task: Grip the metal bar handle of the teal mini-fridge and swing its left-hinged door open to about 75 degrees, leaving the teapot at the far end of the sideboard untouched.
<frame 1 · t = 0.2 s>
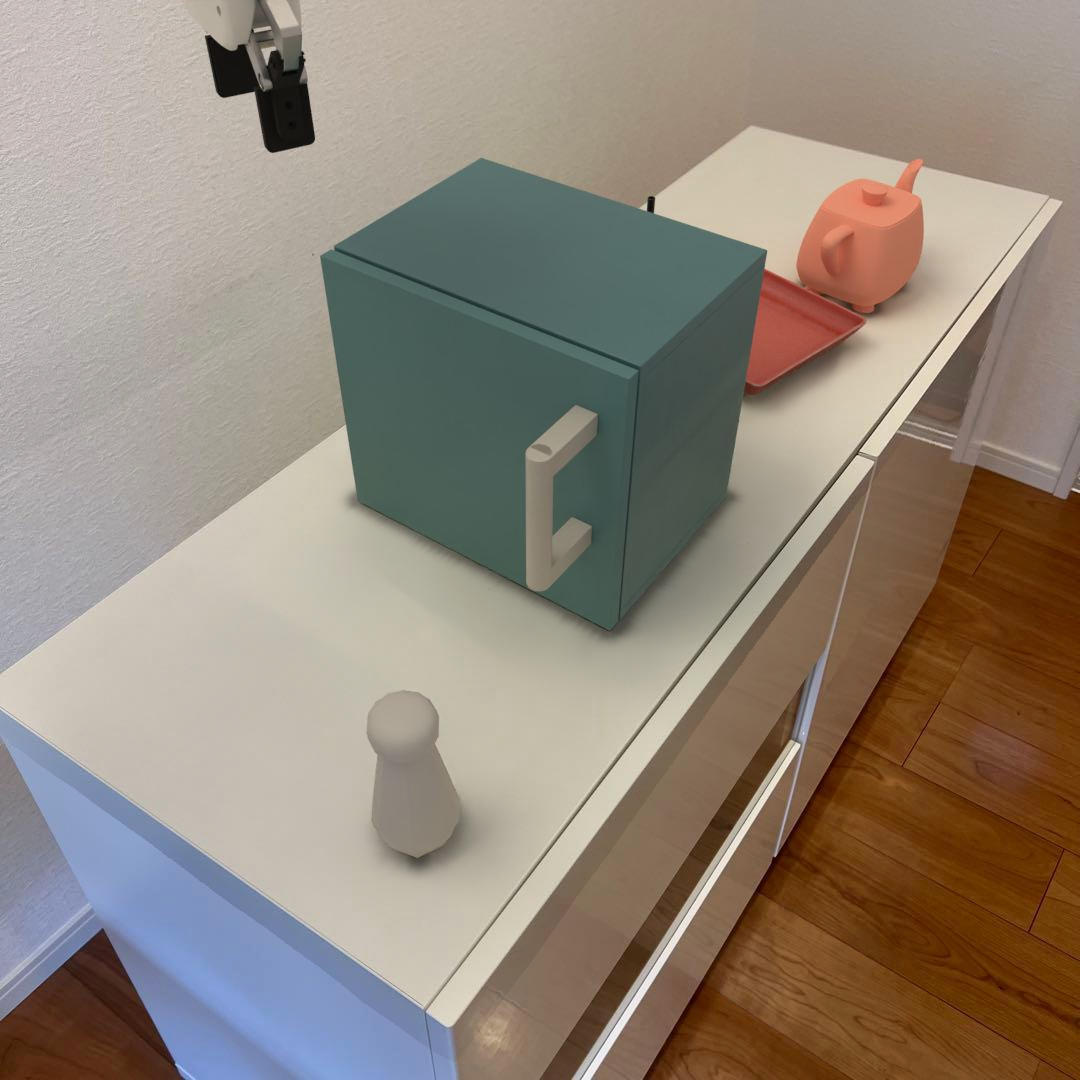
hand: (264, 118, 71), 34 cm above the sideboard, tool pointing down, fingers open, 9 cm apart
salt shaker: (418, 831, 72), on the sideboard
fridge door: (448, 468, 80), point 12 cm above the sideboard, hinge at 0.0°
fridge: (547, 495, 96), on the sideboard
teapot: (854, 285, 122), on the sideboard
drinking cup: (636, 386, 108), on the sideboard
plant saucer: (742, 343, 114), on the sideboard
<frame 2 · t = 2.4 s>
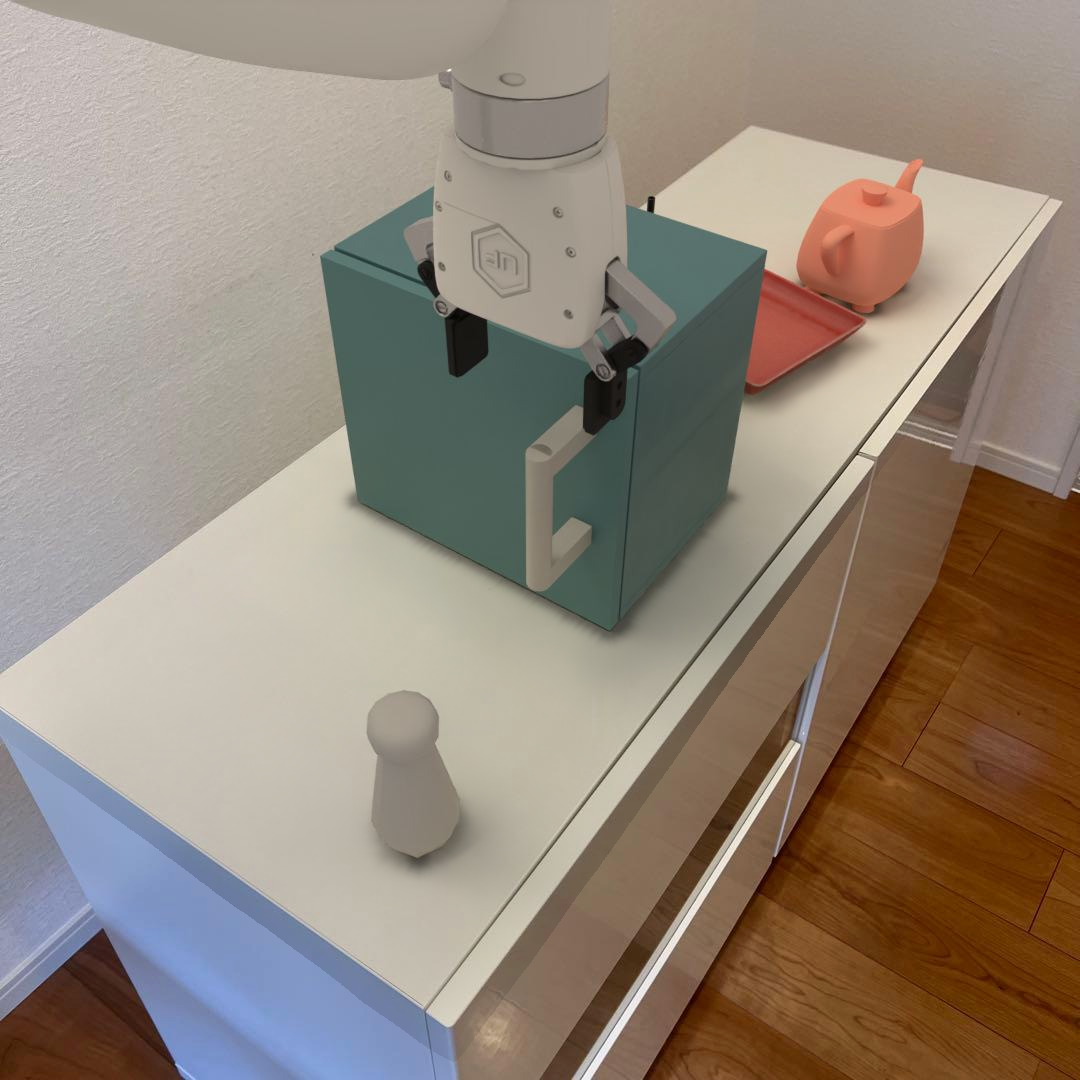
hand: (533, 392, 64), 26 cm above the sideboard, tool pointing down, fingers open, 9 cm apart
nothing on the sideboard moved.
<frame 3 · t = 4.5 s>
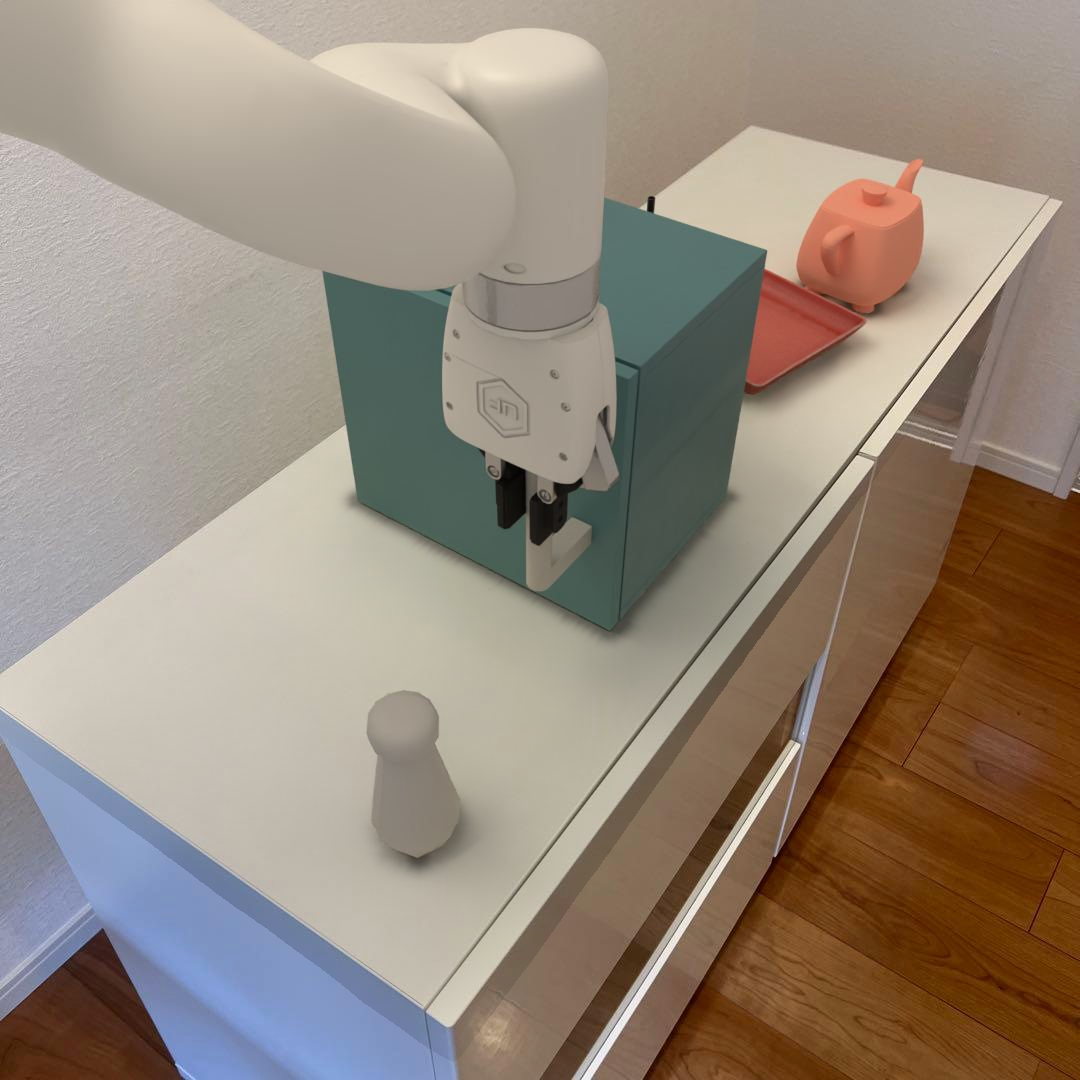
hand: (531, 523, 71), 15 cm above the sideboard, tool pointing down, fingers closed on fridge door, 2 cm apart
fridge door: (448, 468, 80), point 12 cm above the sideboard, hinge at 0.0°, touching gripper
everything else where it was.
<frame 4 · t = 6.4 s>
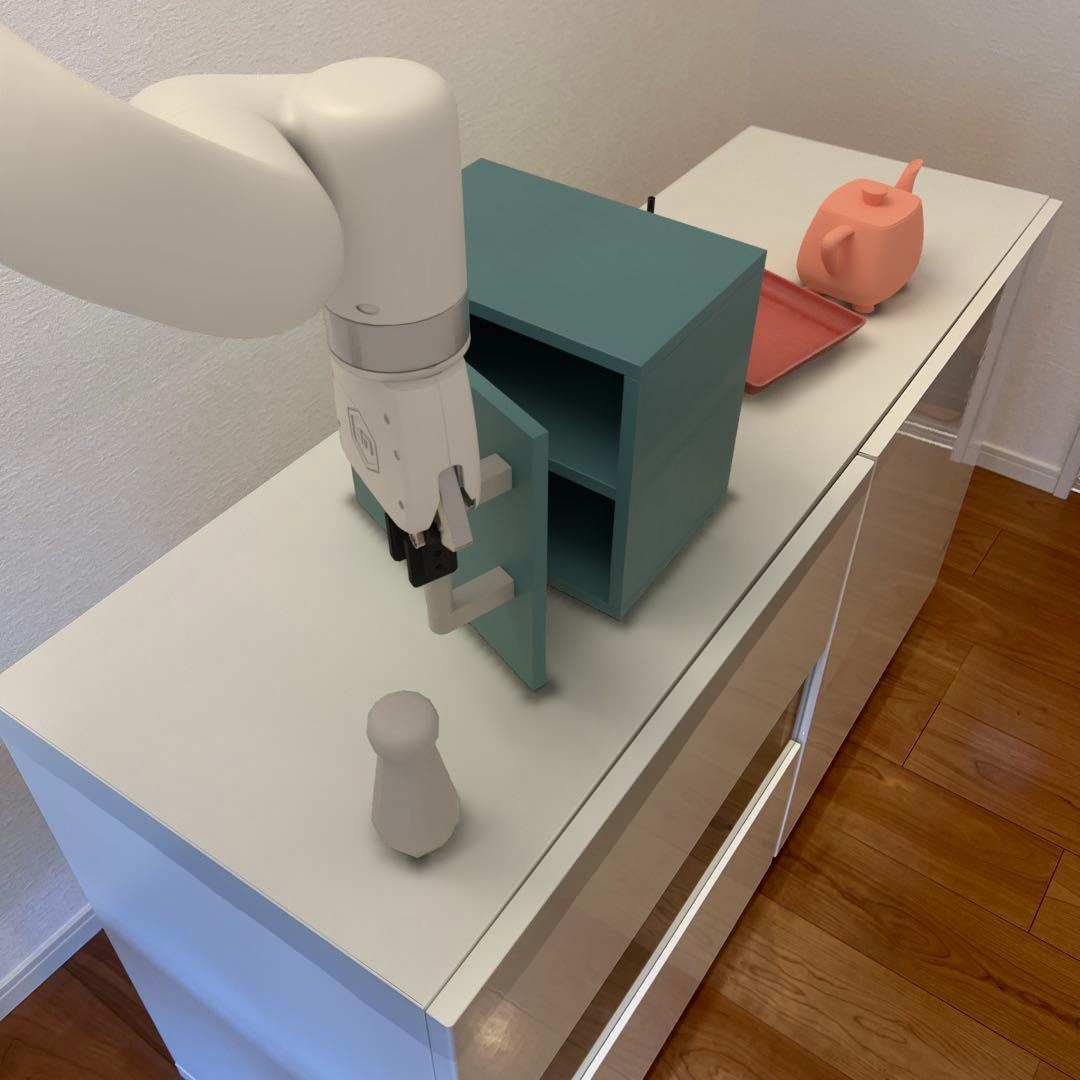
hand: (424, 562, 69), 15 cm above the sideboard, tool pointing down, fingers closed on fridge door, 2 cm apart
fridge door: (396, 489, 78), point 12 cm above the sideboard, hinge at 18.5°, touching gripper
everything else where it was.
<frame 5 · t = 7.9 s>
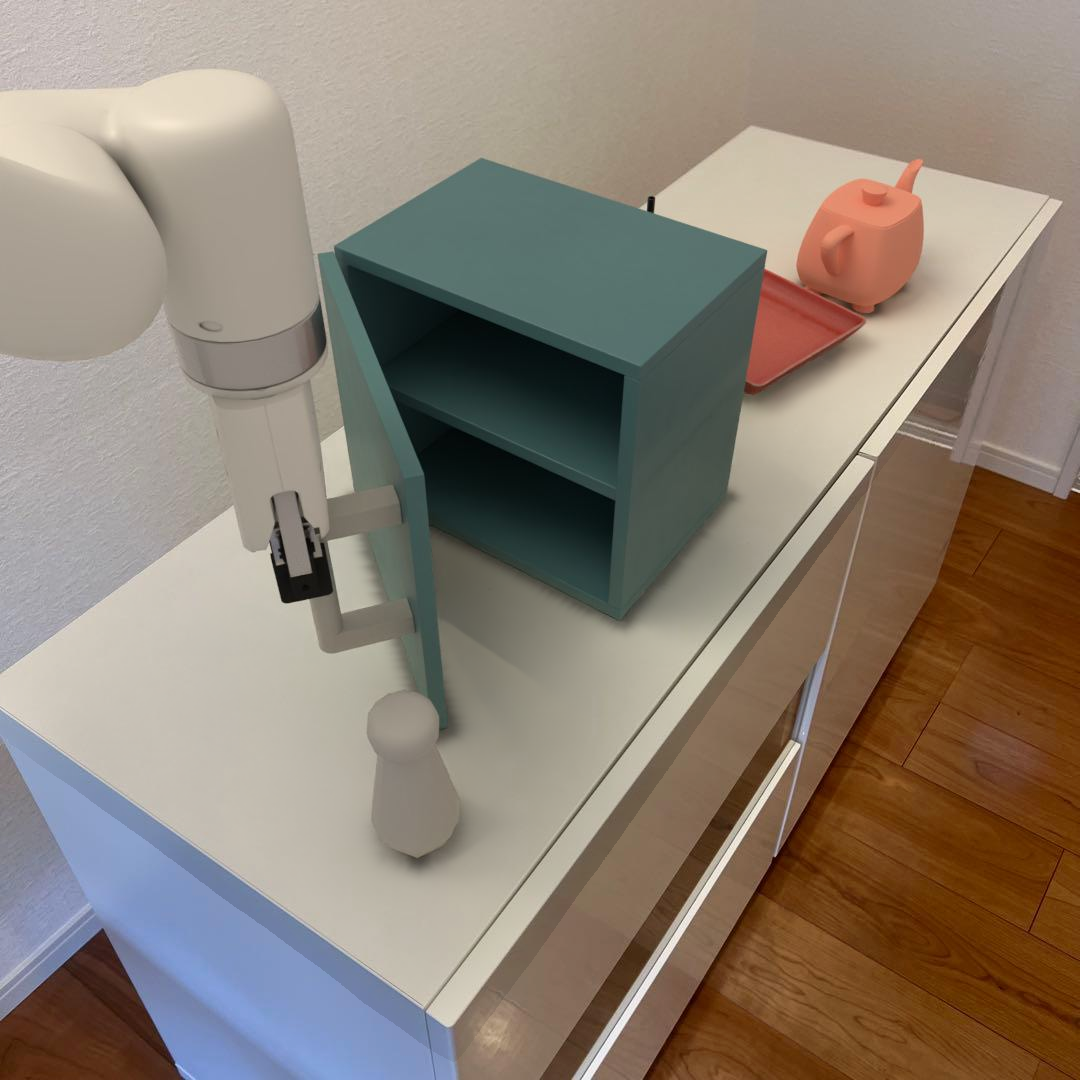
hand: (304, 579, 68), 15 cm above the sideboard, tool pointing down, fingers closed on fridge door, 2 cm apart
fridge door: (338, 498, 77), point 12 cm above the sideboard, hinge at 36.1°, touching gripper
everything else where it was.
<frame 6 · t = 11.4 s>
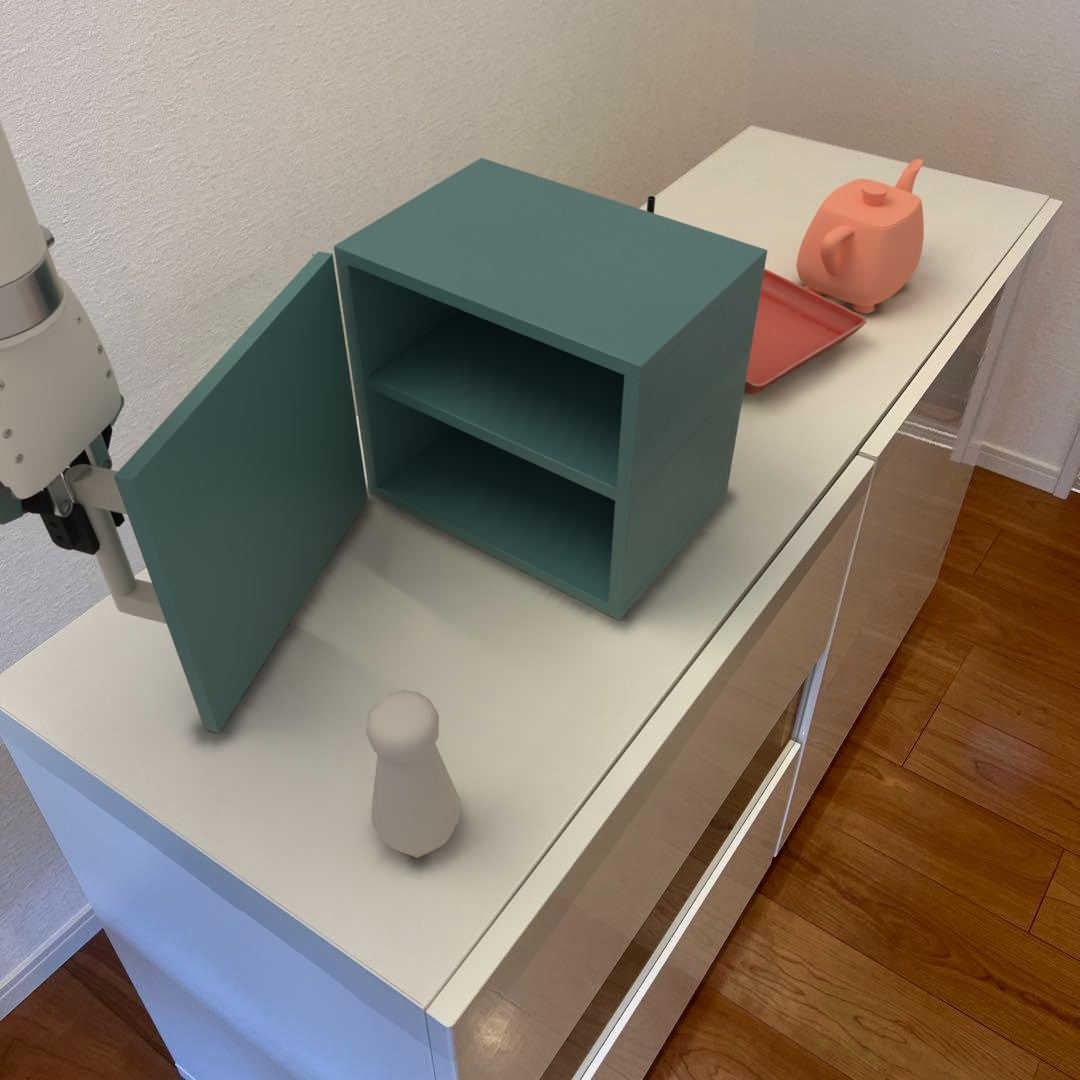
hand: (90, 532, 71), 15 cm above the sideboard, tool pointing down, fingers closed on fridge door, 2 cm apart
fridge door: (229, 481, 79), point 12 cm above the sideboard, hinge at 72.3°, touching gripper
everything else where it was.
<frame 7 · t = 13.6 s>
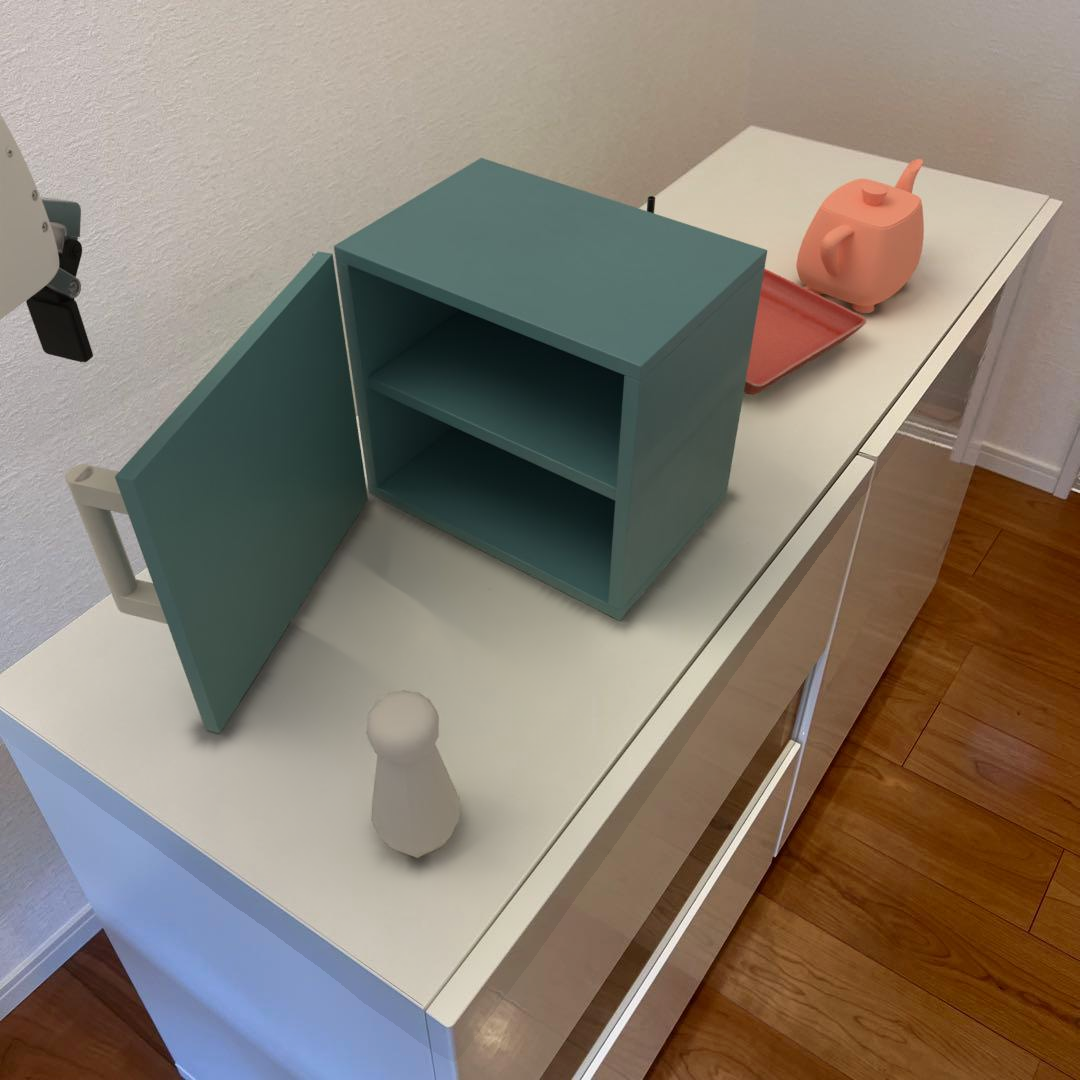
hand: (15, 400, 62), 27 cm above the sideboard, tool pointing down, fingers open, 9 cm apart
fridge door: (229, 481, 79), point 12 cm above the sideboard, hinge at 72.2°
everything else where it was.
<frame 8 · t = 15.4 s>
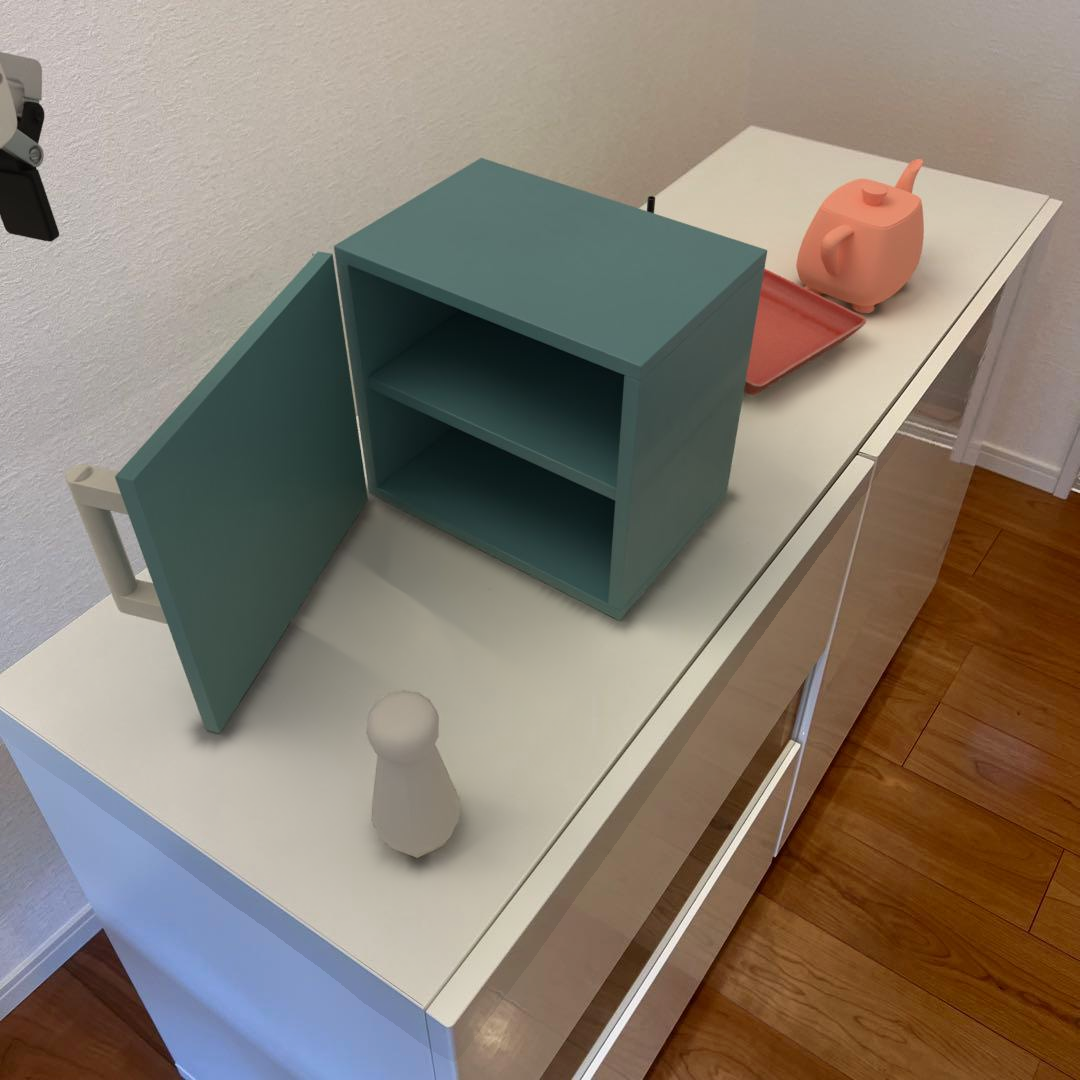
nothing on the sideboard moved.
at the end: fridge door at +72° (first picture: +0°); teapot moved 0.2 cm from its start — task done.
